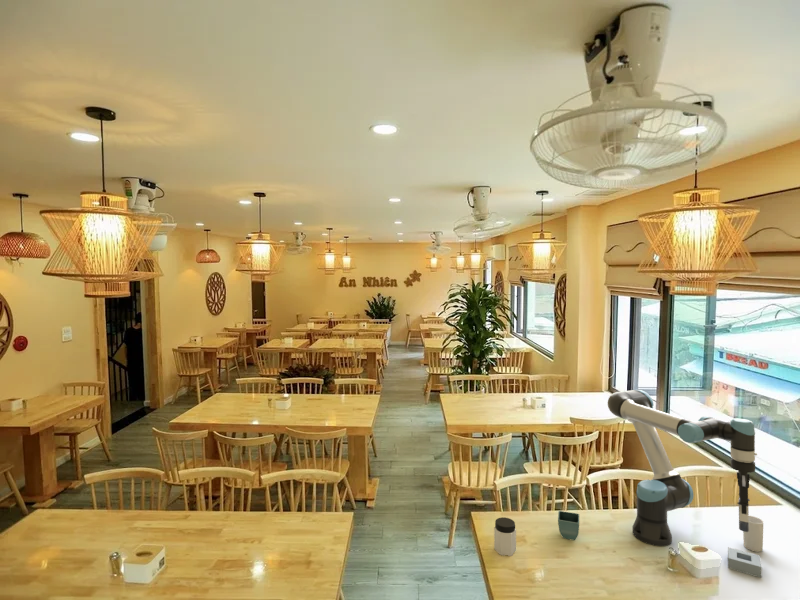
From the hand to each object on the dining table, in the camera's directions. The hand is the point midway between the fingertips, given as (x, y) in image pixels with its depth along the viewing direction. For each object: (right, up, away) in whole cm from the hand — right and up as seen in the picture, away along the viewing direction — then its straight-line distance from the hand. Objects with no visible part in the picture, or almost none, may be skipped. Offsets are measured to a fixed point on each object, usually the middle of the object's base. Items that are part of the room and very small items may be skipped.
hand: (743, 519), depth 172 cm
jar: (-91, -20, +13) cm, 94 cm away
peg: (0, -4, 0) cm, 4 cm away
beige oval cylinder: (+14, -19, +15) cm, 28 cm away
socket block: (0, -19, 0) cm, 19 cm away
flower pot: (-60, -19, +23) cm, 67 cm away
